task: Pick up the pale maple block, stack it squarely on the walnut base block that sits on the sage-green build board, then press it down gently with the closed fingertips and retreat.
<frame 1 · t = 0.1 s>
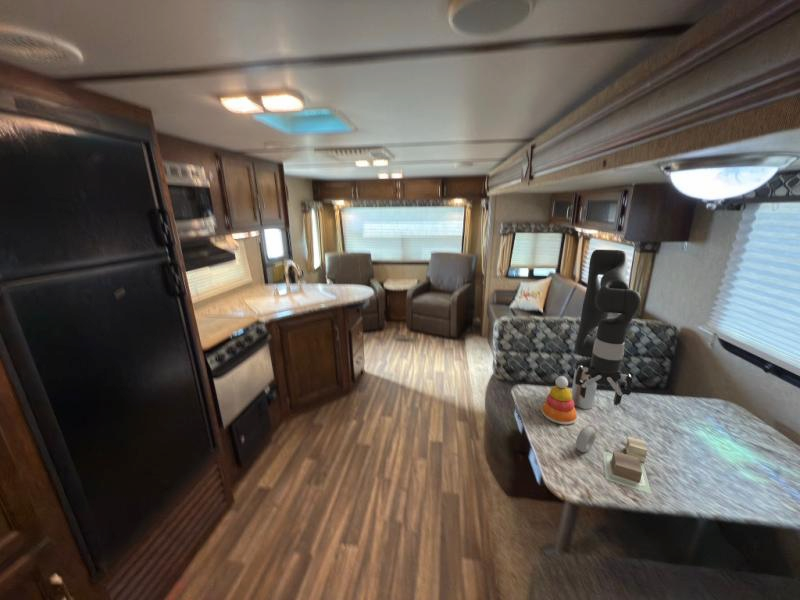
hand: (598, 400, 95), 29 cm above the table, fingers open, 8 cm apart
stacking toy: (558, 416, 133), on the table
build board: (624, 472, 103), on the table
walnut block: (625, 470, 103), point 1 cm above the table, touching build board
donut: (583, 450, 113), on the table
maple block: (634, 456, 110), on the table
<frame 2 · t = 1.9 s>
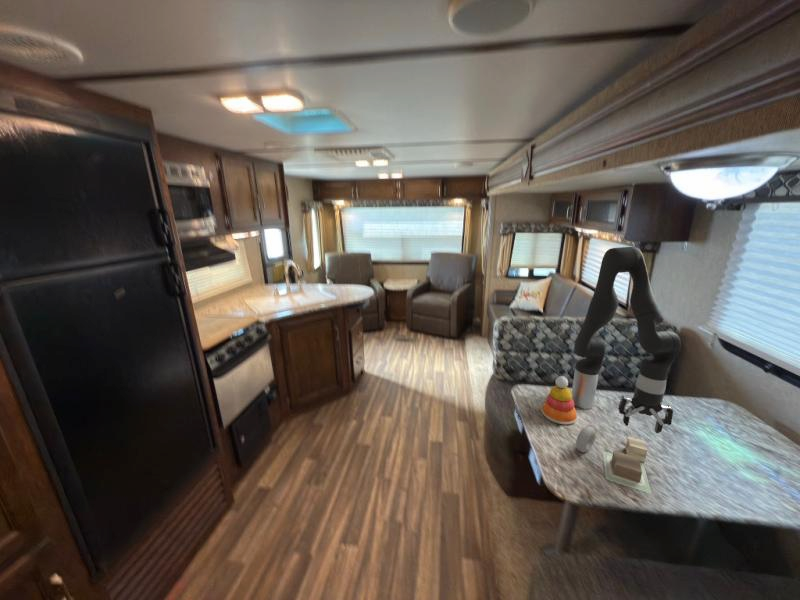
hand: (640, 428, 106), 12 cm above the table, fingers open, 8 cm apart
nothing on the table moved.
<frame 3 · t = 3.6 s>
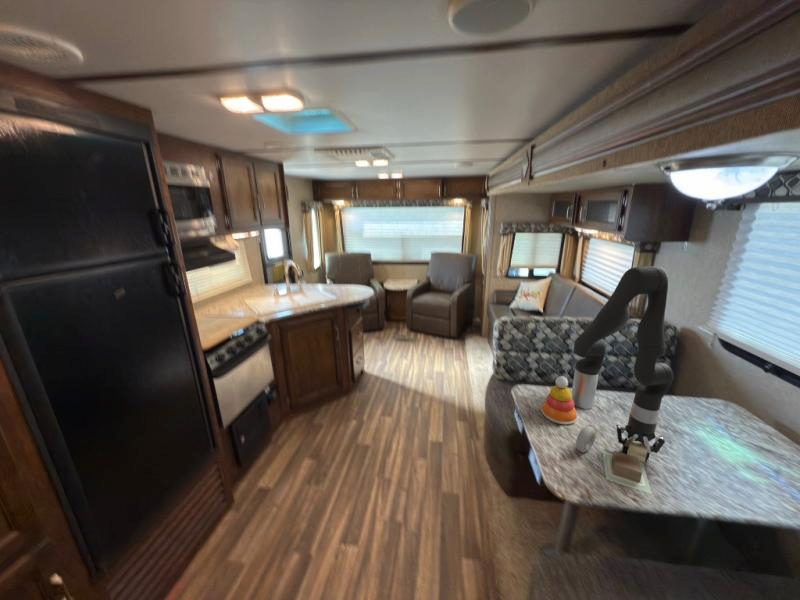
hand: (634, 455, 110), 0 cm above the table, fingers closed on maple block, 5 cm apart
maple block: (634, 456, 110), on the table, touching gripper
everything else where it was.
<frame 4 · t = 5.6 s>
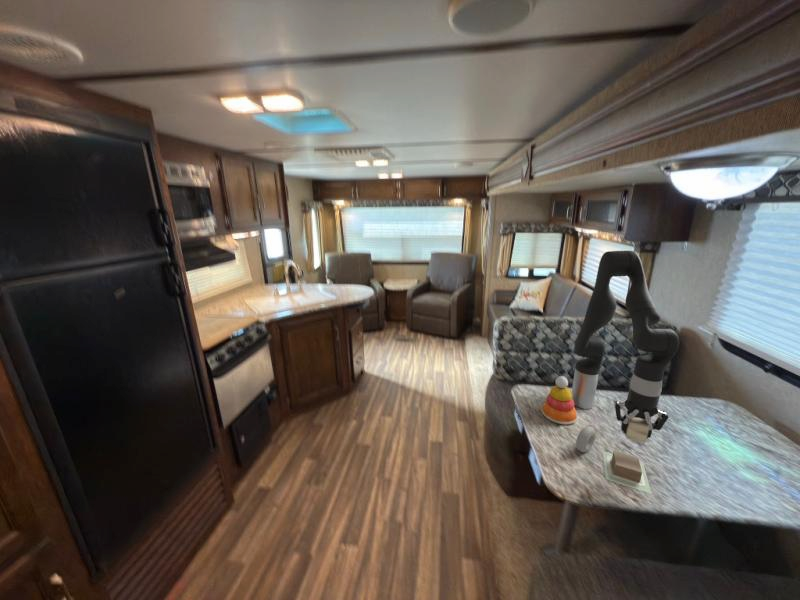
hand: (634, 434, 99), 16 cm above the table, fingers closed on maple block, 5 cm apart
maple block: (634, 435, 99), point 15 cm above the table, touching gripper
everything else where it was.
when the fingers open (6 cm above the table, at t = 7.8 s): maple block stays where it is, resting on walnut block.
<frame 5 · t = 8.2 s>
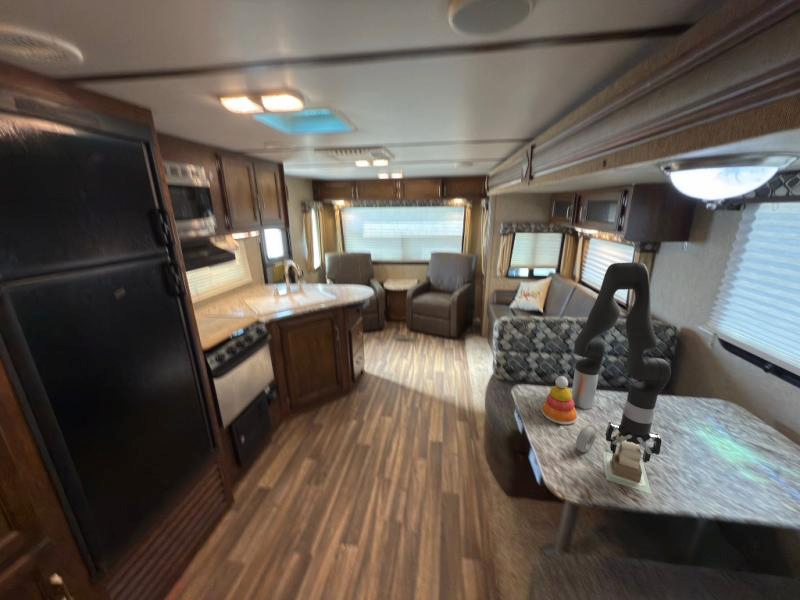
hand: (628, 456, 101), 7 cm above the table, fingers open, 8 cm apart
walnut block: (625, 470, 103), point 1 cm above the table, touching build board, maple block
maple block: (627, 461, 102), point 5 cm above the table, touching walnut block
everything else where it was.
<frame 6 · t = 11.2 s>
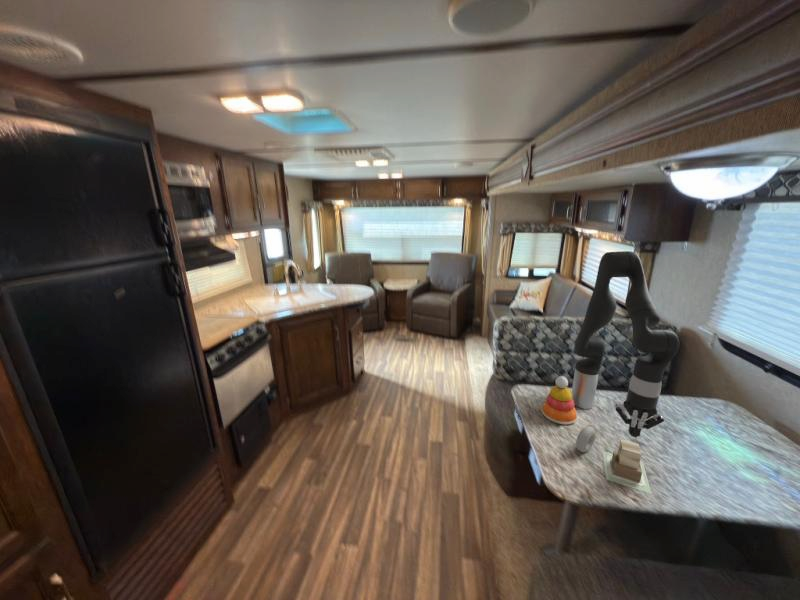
hand: (633, 435, 99), 15 cm above the table, fingers closed
nothing on the table moved.
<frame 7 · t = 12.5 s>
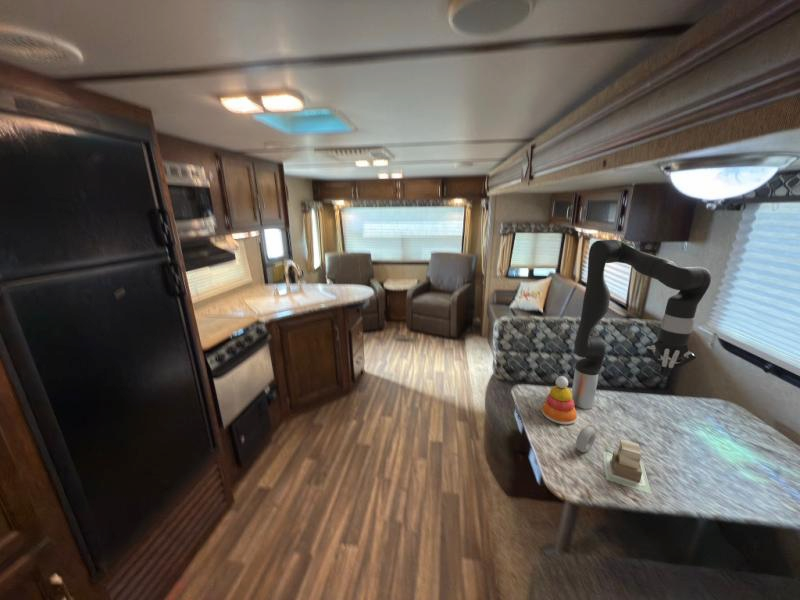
hand: (663, 375, 102), 32 cm above the table, fingers closed
nothing on the table moved.
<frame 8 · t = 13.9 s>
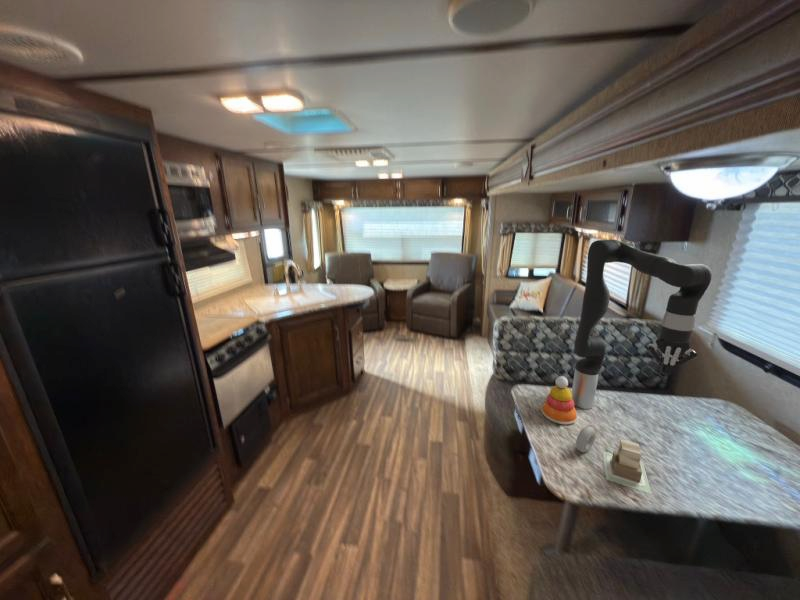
hand: (665, 373, 102), 33 cm above the table, fingers closed
nothing on the table moved.
at the end: maple block 0.0 cm off-centre on the walnut block, point 4.0 cm above the walnut block's base; maple block tilted 0°; walnut block 0.0 cm from the build board (horizontally) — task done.
